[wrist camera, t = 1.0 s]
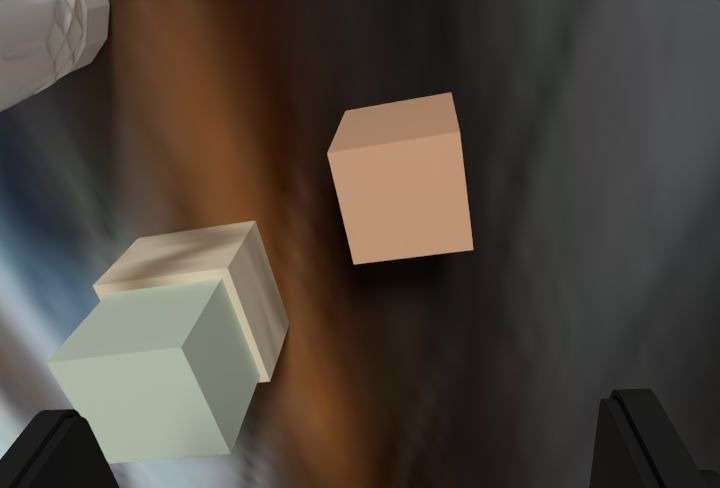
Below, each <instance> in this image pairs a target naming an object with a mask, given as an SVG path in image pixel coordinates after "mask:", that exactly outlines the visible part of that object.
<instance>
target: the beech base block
mask: <svg viewBox="0 0 720 488" xmlns="http://www.w3.org/2000/svg"><path fill="white" fill-rule="evenodd" d="M216 278H222V279H223V281H224V284H225V286H226V289H227V291H228V294H229V297H230V299H231V302H232V304H233V307H234V309H235V312H236V314H237V317H238V320H239V322H240V325H241V327H242V330H243V332H244V335H245V337H246V340H247V343H248V345H249V348H250V350H251V353H252V355H253V358H254V360H255V363H256V365H257V368H258V371H259V373H260V376H259V379H258V382H257V383H260V382H270V380H271V377H272V374H273V371H274V368H275V365H276V362H277V359H278V356H279V354H280V351H281V348H282V345H283V342H284V339H285V336H286V333H287V330H288V327H289V321H288V318H287V315H286V312H285V309H284V306H283V303H282V300H281V297H280V294H279V291H278V288H277V285H276V282H275V279H274V276H273V273H272V270H271V267H270V264H269V261H268V258H267V255H266V251H265V248H264V245H263V242H262V239H261V236H260V233H259V230H258V227H257V224H256V221H249V222H243V223H236V224H229V225H223V226H216V227H209V228H203V229H196V230H189V231H183V232H176V233H169V234H163V235H156V236H149V237H143V238H138V239H137V240H136V241H135V242H134V243H133V244H132V245H131V246H130V247H129V248H128V249H127V250H126V251H125V253H124V254H123V255H122V256H121V257H120V258H119V259H118V260H117V261H116V262H115V263H114V264H113V265H112V266H111V267H110V268H109V269H108V270H107V271H106V272H105V274H104V275H103V276H102V277H101V278H100V279H99V280H98V281H97V282H96V283H95V284H94V285H93V287H94V289H95V291H96V293H97V295H98V297H99V299H100V301H102V299H103V298H104V297H105V296H106V295H107V294H108V293H116V292H123V291H130V290H137V289H144V288H151V287H158V286H166V285H173V284H180V283H187V282H194V281H201V280H208V279H216Z"/></svg>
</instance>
